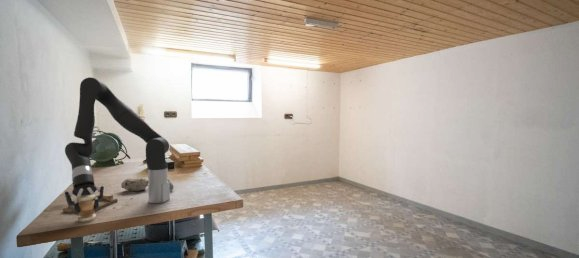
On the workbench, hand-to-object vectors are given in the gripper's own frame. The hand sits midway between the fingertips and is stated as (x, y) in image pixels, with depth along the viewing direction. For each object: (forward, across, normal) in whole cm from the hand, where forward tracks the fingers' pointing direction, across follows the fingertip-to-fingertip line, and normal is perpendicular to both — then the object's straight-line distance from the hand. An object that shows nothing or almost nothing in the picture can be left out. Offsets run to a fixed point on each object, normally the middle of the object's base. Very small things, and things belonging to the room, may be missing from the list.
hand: (87, 210), depth 109 cm
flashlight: (-16, +41, +22) cm, 49 cm away
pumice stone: (-22, +26, +28) cm, 45 cm away
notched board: (-11, +4, +17) cm, 20 cm away
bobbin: (+2, 0, +4) cm, 5 cm away
